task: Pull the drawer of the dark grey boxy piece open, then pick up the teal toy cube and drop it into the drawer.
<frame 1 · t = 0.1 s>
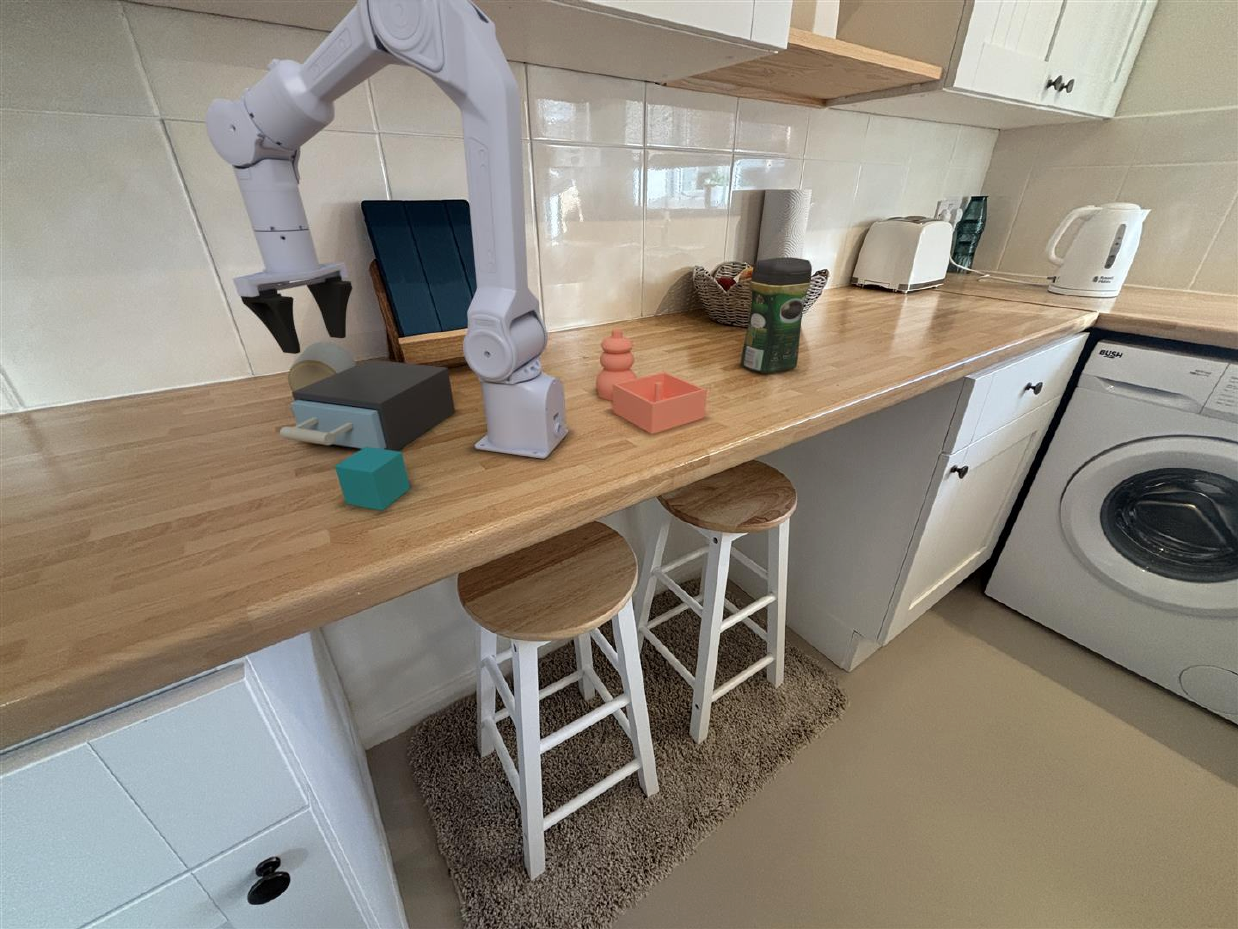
hand: (316, 344, 64), 10 cm above the countertop, tool pointing down, fingers open, 7 cm apart
teal toy cube: (379, 495, 51), on the countertop
pottery: (639, 406, 73), on the countertop
drawer: (359, 414, 61), point 3 cm above the countertop, slide at 0.0 cm
dark grey boxy piece: (386, 425, 66), on the countertop
coffee jar: (766, 368, 89), on the countertop
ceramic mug: (340, 397, 76), on the countertop
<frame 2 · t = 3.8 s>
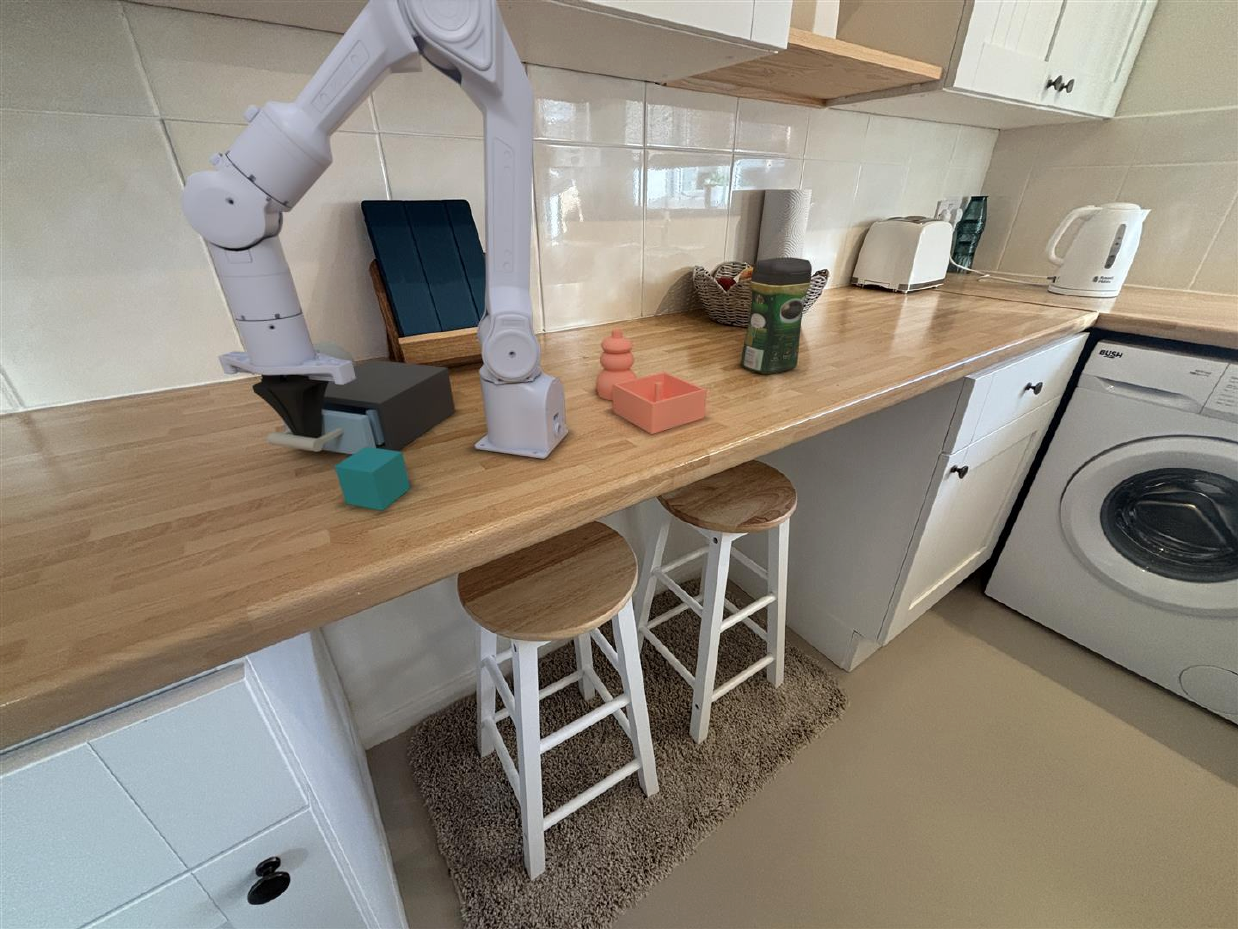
hand: (310, 438, 55), 3 cm above the countertop, tool pointing down, fingers closed
drawer: (349, 419, 60), point 3 cm above the countertop, slide at 1.6 cm, touching gripper
everything else where it was.
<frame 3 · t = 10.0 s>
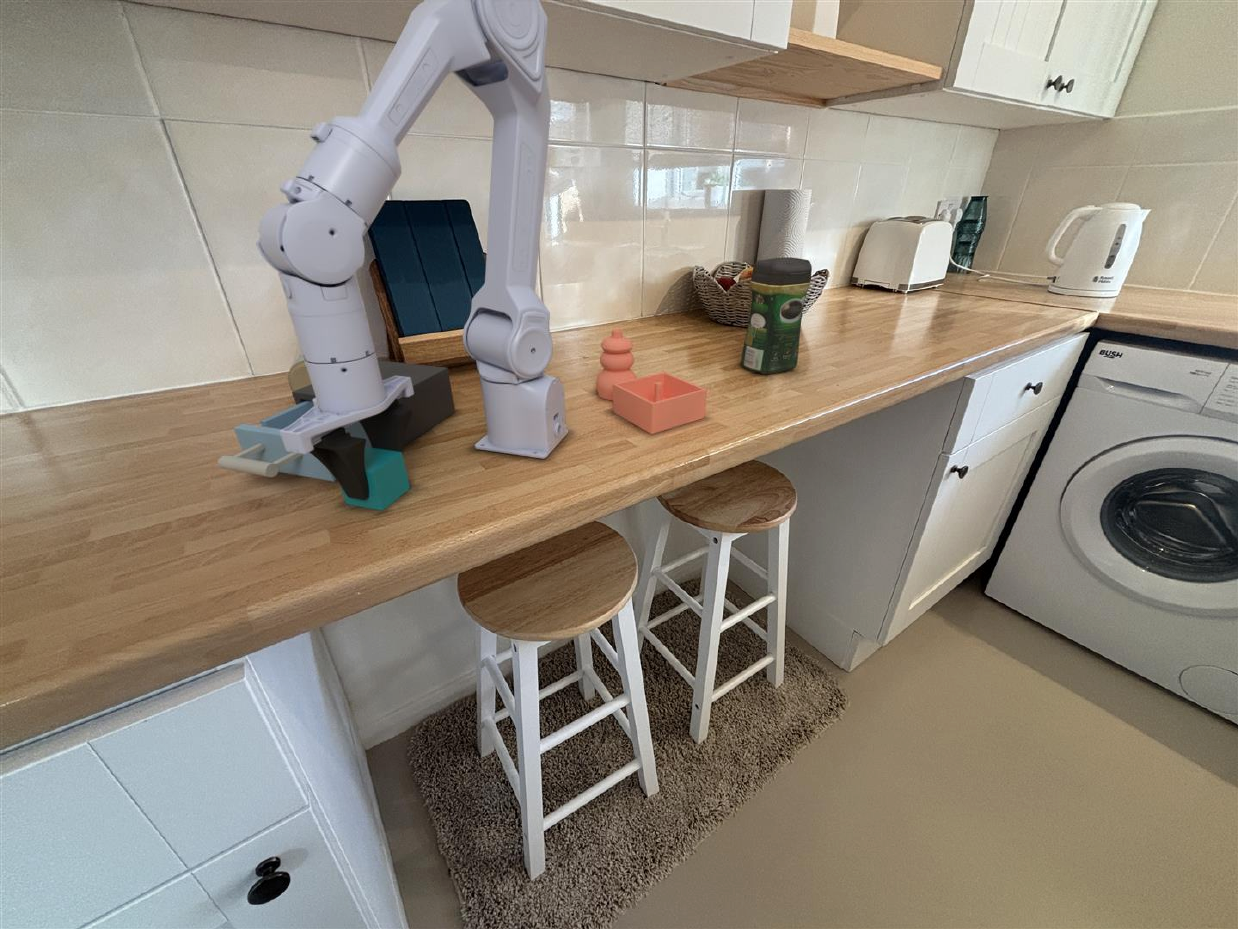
hand: (376, 484, 51), 1 cm above the countertop, tool pointing down, fingers closed on teal toy cube, 4 cm apart
teal toy cube: (379, 496, 51), on the countertop, touching gripper
drawer: (313, 438, 55), point 3 cm above the countertop, slide at 7.2 cm
everything else where it was.
when the fingers open (6 cm above the countertop, at t = 14.2 s): teal toy cube drops 3 cm, resting on drawer.
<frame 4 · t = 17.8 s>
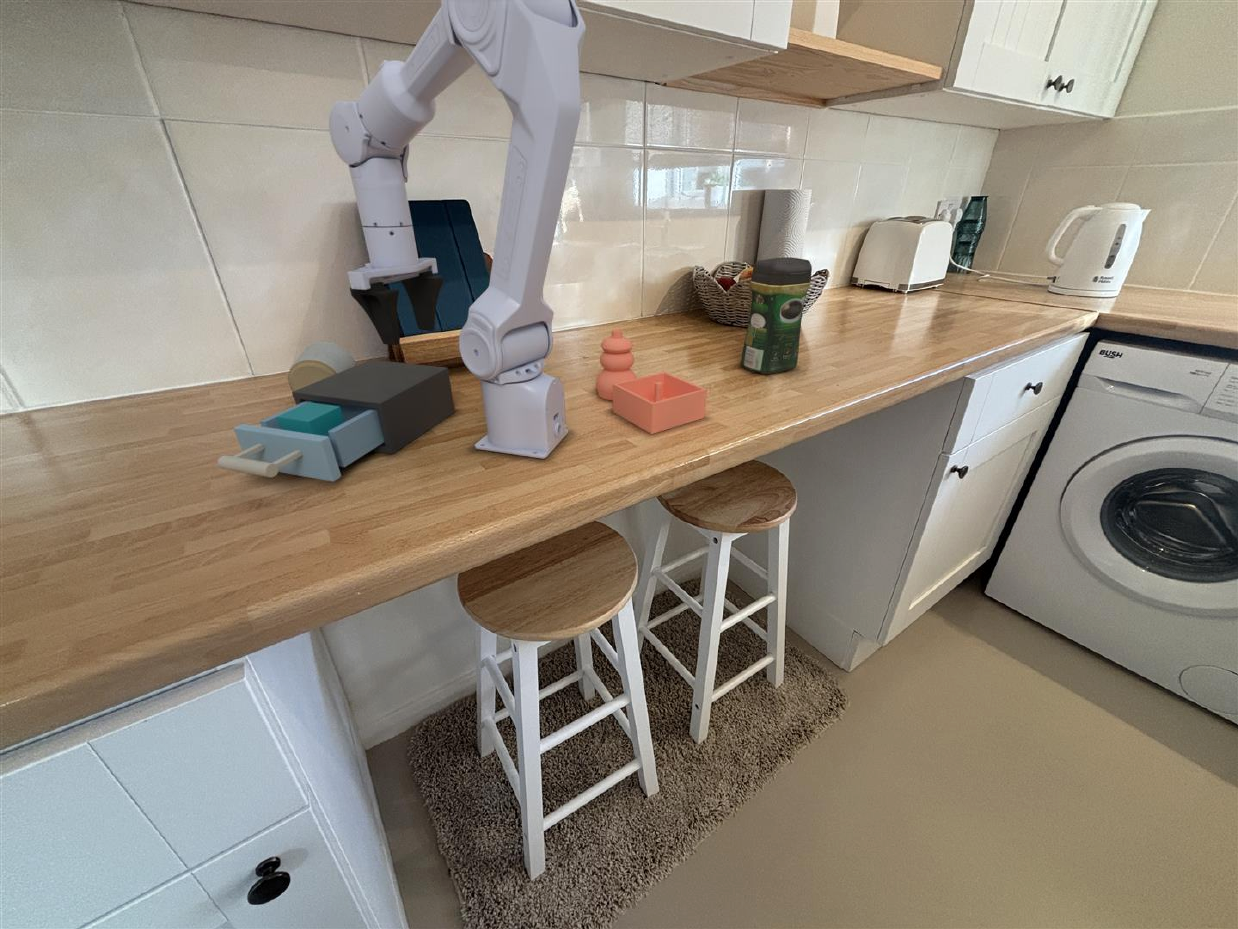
hand: (410, 336, 67), 10 cm above the countertop, tool pointing down, fingers open, 7 cm apart
teal toy cube: (320, 446, 57), point 2 cm above the countertop, touching drawer
drawer: (312, 438, 55), point 3 cm above the countertop, slide at 7.2 cm, touching teal toy cube
everything else where it was.
at the end: drawer slide at 7.2 cm; teal toy cube inside the target area in the drawer (3.1 cm from its centre), point 2.0 cm above the dark grey boxy piece's base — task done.
